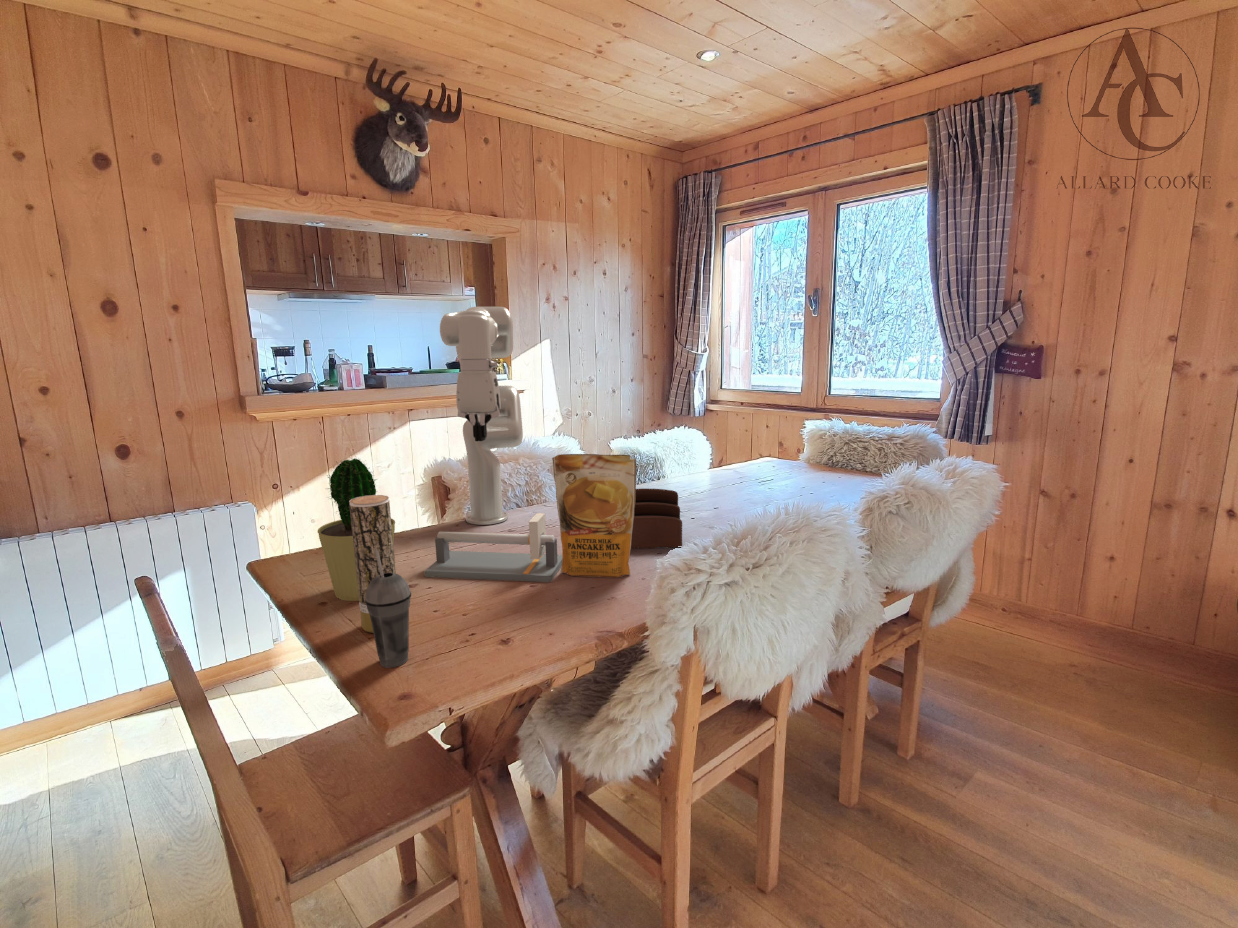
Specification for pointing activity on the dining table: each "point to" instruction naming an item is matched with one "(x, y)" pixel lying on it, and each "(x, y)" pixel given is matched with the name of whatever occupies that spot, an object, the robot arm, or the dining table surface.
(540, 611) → the dining table surface
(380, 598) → the beverage cup
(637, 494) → the letter holder
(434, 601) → the dining table surface
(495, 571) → the pipe rig
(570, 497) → the pancake mix bag
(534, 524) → the collar
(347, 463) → the potted cactus
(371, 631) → the bark wrapped tube
